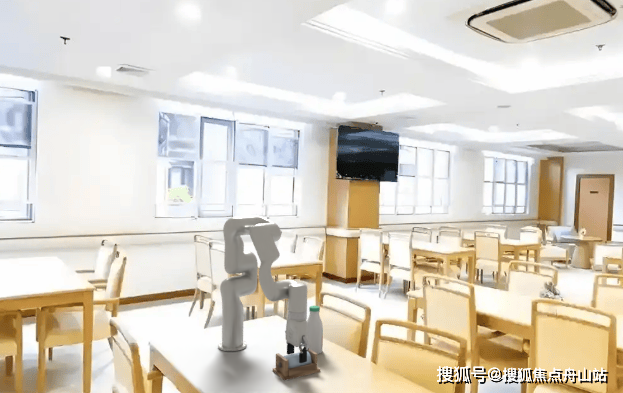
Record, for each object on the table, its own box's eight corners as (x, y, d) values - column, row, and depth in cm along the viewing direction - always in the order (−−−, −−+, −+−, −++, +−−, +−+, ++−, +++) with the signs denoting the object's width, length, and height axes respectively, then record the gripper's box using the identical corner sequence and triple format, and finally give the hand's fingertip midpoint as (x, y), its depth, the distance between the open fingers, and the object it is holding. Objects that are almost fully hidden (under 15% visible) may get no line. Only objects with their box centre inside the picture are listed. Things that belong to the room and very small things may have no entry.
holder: (272, 370, 172) (272, 353, 172) (307, 362, 180) (307, 346, 180) (284, 380, 163) (284, 362, 163) (320, 371, 172) (320, 354, 172)
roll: (288, 374, 167) (289, 359, 166) (281, 368, 172) (281, 353, 171) (311, 369, 172) (312, 354, 172) (303, 362, 177) (304, 348, 177)
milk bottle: (320, 355, 188) (321, 309, 188) (303, 353, 190) (304, 308, 189) (323, 349, 196) (324, 305, 195) (307, 347, 197) (307, 303, 197)
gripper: (278, 310, 177) (278, 352, 177) (300, 322, 162) (299, 367, 162) (294, 308, 181) (294, 349, 181) (317, 319, 166) (316, 363, 166)
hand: (296, 357), depth 172 cm, fingers open, 9 cm apart
